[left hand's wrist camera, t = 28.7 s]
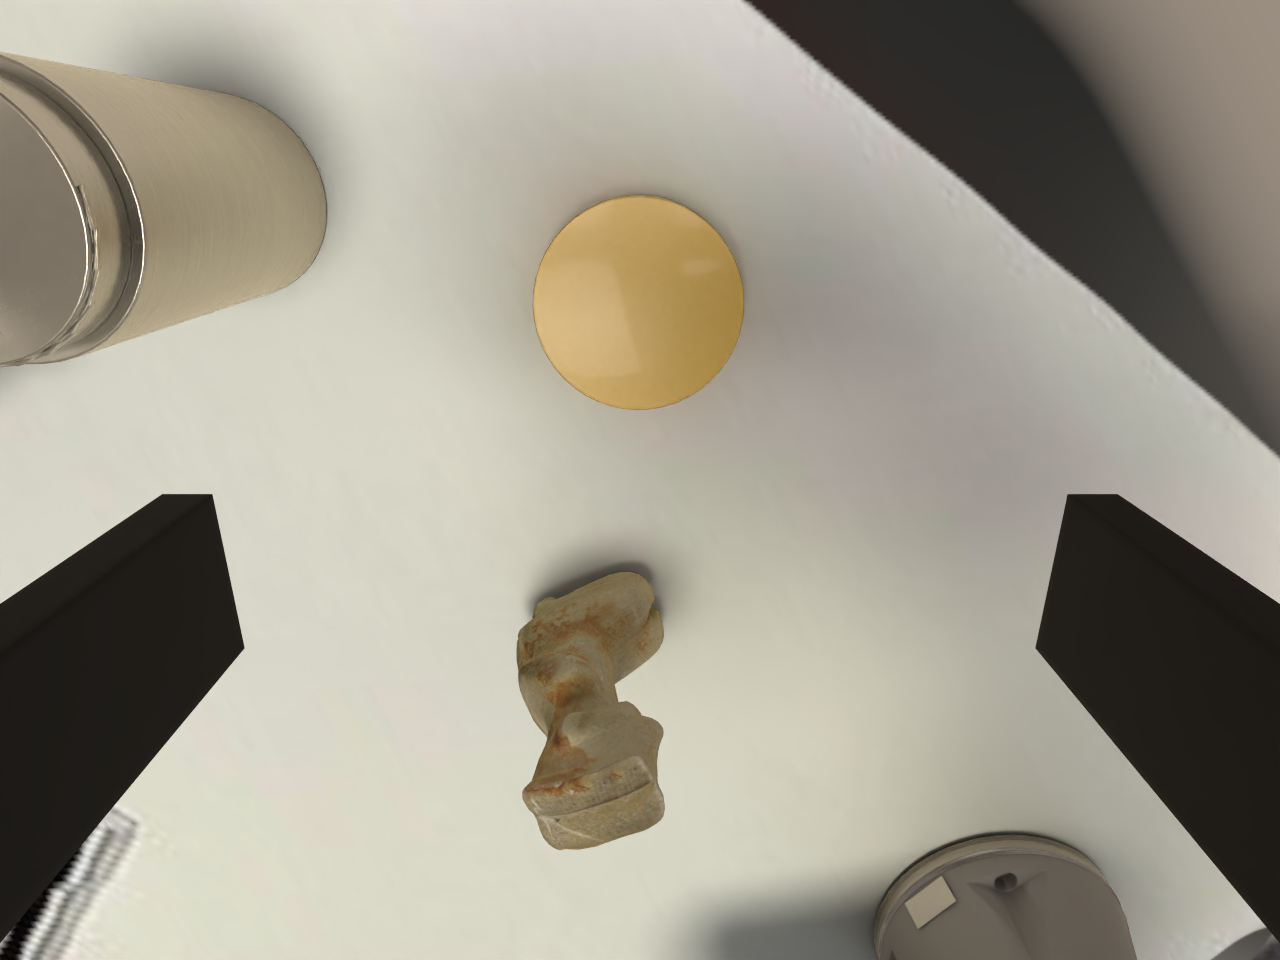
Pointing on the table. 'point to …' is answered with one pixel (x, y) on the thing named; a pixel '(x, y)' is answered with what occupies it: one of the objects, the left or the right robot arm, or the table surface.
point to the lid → (638, 302)
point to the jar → (139, 207)
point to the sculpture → (591, 712)
